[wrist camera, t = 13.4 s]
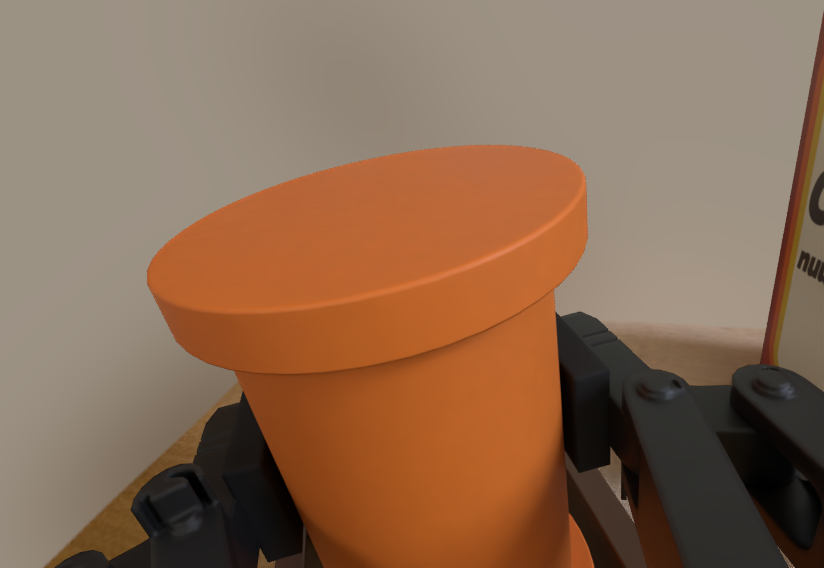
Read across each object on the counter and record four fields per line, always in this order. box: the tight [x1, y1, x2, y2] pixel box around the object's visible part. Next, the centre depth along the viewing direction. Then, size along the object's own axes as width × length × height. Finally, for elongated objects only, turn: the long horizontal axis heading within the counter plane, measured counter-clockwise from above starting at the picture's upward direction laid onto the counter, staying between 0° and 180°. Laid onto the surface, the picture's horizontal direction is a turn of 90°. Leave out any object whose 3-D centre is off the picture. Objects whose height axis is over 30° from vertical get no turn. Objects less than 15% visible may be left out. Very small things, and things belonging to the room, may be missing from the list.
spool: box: [147, 145, 594, 568], centre depth 11 cm, size 8×8×12 cm
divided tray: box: [275, 452, 647, 568], centre depth 19 cm, size 11×21×4 cm, turn 10°
